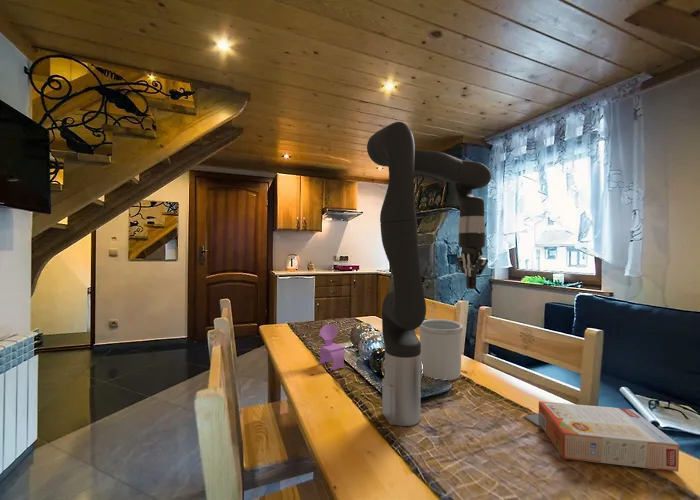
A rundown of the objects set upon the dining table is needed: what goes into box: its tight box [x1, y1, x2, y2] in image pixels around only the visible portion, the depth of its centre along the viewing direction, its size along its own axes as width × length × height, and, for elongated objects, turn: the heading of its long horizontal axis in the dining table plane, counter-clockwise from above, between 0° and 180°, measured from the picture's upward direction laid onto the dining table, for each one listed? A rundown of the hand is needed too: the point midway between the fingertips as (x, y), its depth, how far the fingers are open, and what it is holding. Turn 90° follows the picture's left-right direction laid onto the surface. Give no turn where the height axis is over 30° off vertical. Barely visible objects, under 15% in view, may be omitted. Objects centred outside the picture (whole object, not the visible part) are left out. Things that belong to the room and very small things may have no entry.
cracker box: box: [538, 400, 680, 473], centre depth 72 cm, size 14×6×21 cm
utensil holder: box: [418, 318, 464, 381], centre depth 114 cm, size 15×15×18 cm
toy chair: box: [317, 323, 346, 372], centre depth 120 cm, size 8×9×15 cm
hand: (471, 288), depth 98 cm, fingers closed
